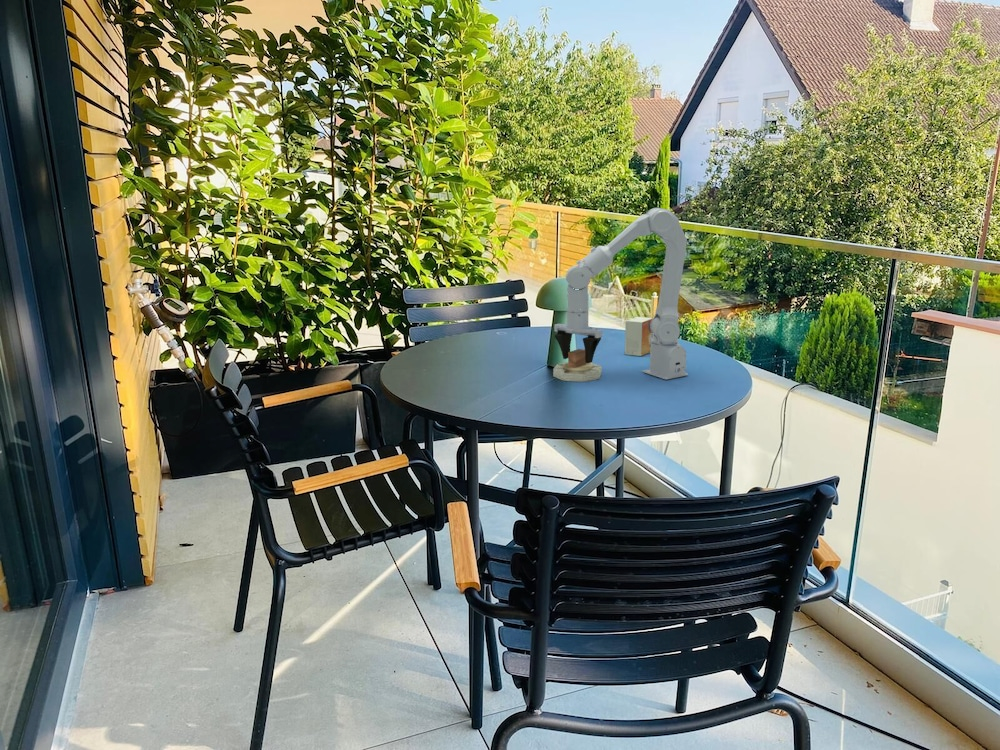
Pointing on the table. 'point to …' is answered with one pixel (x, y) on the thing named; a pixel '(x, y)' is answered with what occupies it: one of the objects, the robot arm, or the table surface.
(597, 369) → the flat stone slab
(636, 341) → the small box
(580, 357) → the cap
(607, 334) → the table surface
